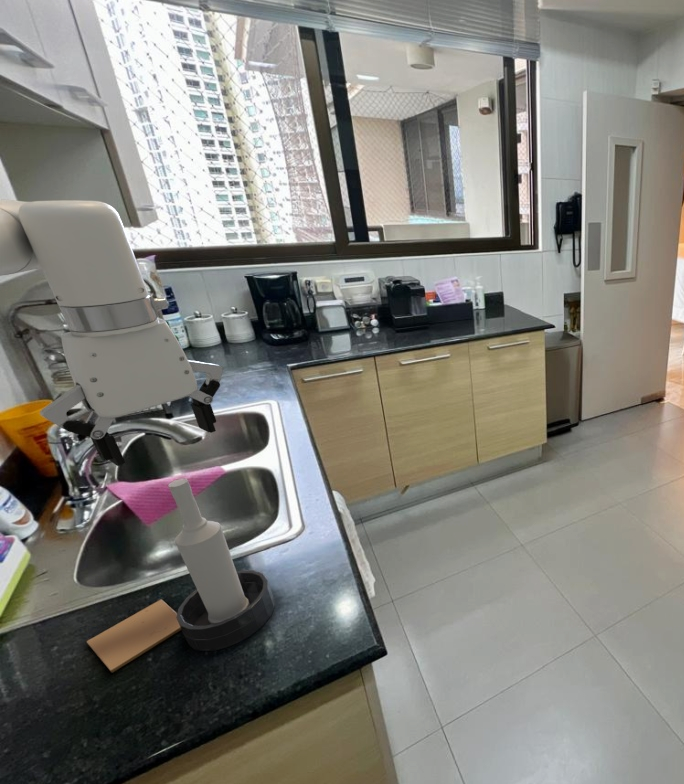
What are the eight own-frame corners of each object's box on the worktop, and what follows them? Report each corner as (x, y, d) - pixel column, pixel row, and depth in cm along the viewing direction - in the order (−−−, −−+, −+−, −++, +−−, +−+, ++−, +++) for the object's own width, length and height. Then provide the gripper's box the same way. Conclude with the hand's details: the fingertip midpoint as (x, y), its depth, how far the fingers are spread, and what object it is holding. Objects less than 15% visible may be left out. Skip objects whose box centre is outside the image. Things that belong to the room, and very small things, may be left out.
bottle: (203, 625, 71) (143, 488, 61) (237, 600, 76) (187, 468, 66) (225, 636, 69) (168, 497, 60) (259, 610, 74) (210, 476, 64)
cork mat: (87, 643, 68) (86, 641, 68) (162, 601, 76) (161, 599, 75) (112, 673, 64) (110, 670, 64) (188, 625, 71) (187, 622, 71)
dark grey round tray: (172, 630, 71) (161, 608, 69) (252, 580, 80) (244, 560, 78) (208, 665, 66) (198, 642, 64) (289, 608, 75) (282, 587, 73)
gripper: (185, 298, 62) (224, 413, 69) (-11, 329, 48) (62, 468, 55) (213, 305, 59) (252, 425, 66) (11, 339, 45) (86, 487, 52)
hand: (165, 445), depth 60 cm, fingers open, 9 cm apart
